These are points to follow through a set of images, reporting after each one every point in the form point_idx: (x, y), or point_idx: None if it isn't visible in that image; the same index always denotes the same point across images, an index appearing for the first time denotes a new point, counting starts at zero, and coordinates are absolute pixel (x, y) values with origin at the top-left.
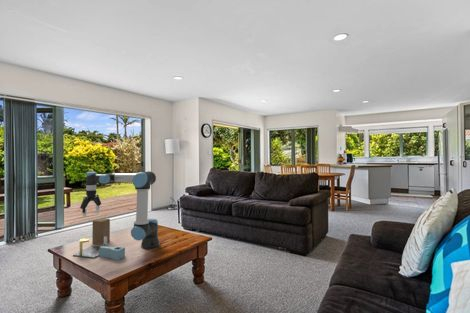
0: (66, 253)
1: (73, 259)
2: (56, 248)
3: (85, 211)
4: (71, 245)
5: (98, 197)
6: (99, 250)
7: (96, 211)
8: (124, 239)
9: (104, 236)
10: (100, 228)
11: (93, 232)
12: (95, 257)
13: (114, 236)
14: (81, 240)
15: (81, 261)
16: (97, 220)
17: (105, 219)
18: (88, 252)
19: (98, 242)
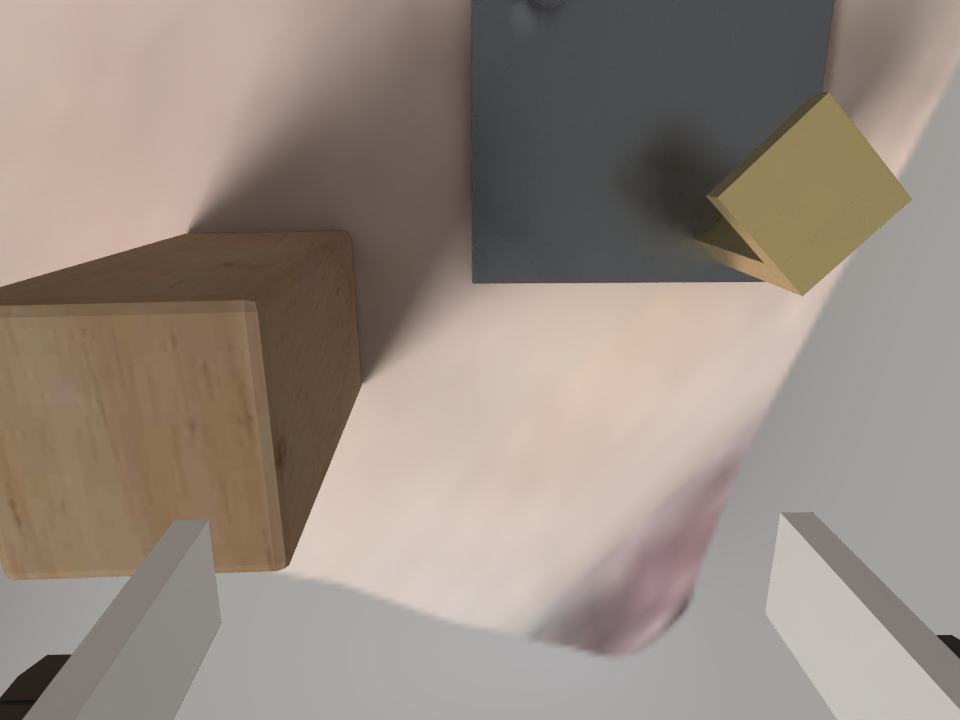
0: (724, 418)
1: None
2: (608, 641)
3: (943, 655)
4: (491, 570)
5: None
6: (611, 37)
7: (195, 631)
8: (46, 29)
9: (275, 242)
10: (305, 305)
11: (336, 429)
12: None
13: None
14: (857, 214)
15: (937, 23)
16: (213, 492)
17: (46, 373)
18: (701, 141)
19: (352, 293)
